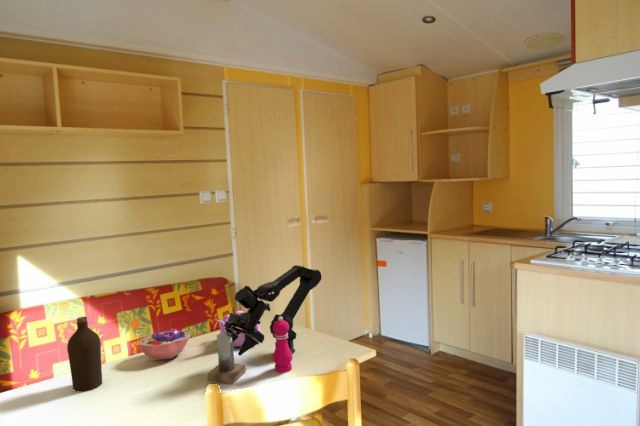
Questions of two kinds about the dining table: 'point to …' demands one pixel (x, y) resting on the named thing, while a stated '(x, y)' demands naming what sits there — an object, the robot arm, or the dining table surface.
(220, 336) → the tea tin
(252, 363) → the dining table surface
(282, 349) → the pepper mill
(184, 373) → the dining table surface
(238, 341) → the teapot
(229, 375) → the walnut box
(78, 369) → the olive oil
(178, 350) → the cell model
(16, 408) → the dining table surface
